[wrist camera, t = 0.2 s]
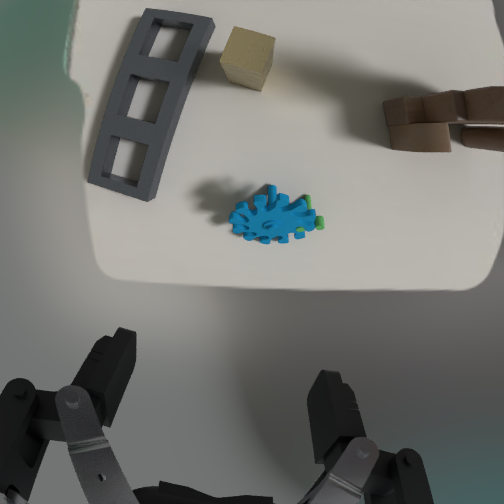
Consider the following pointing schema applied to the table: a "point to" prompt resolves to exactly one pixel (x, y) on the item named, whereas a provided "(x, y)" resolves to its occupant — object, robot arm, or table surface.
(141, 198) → the grey flat frame block
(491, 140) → the wooden toy
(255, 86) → the brass post
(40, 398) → the robot arm
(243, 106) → the table surface
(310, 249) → the table surface
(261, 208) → the gear
